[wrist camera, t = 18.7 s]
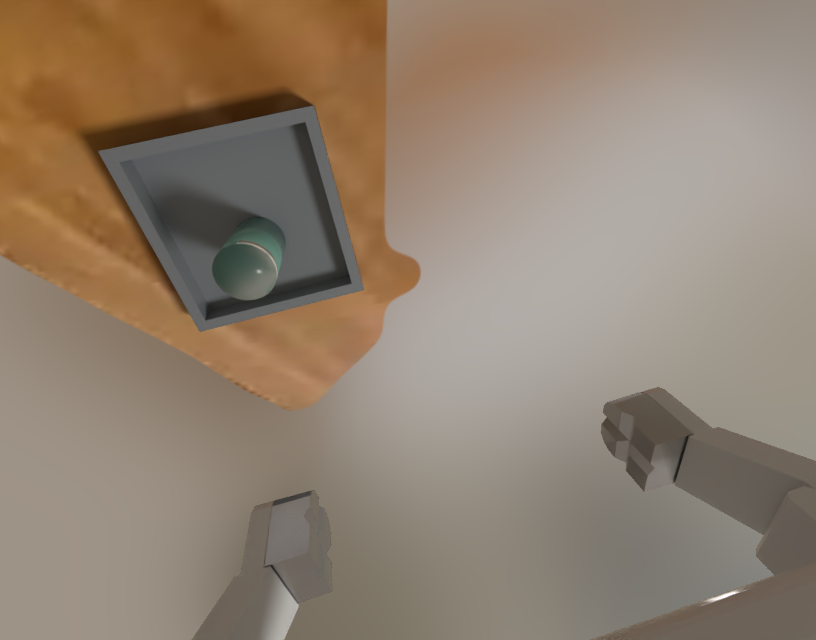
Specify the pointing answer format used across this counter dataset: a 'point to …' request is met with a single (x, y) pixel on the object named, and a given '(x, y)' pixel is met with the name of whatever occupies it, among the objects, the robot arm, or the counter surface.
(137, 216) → the tray
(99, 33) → the counter surface
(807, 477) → the robot arm
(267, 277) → the green rounded cylinder
